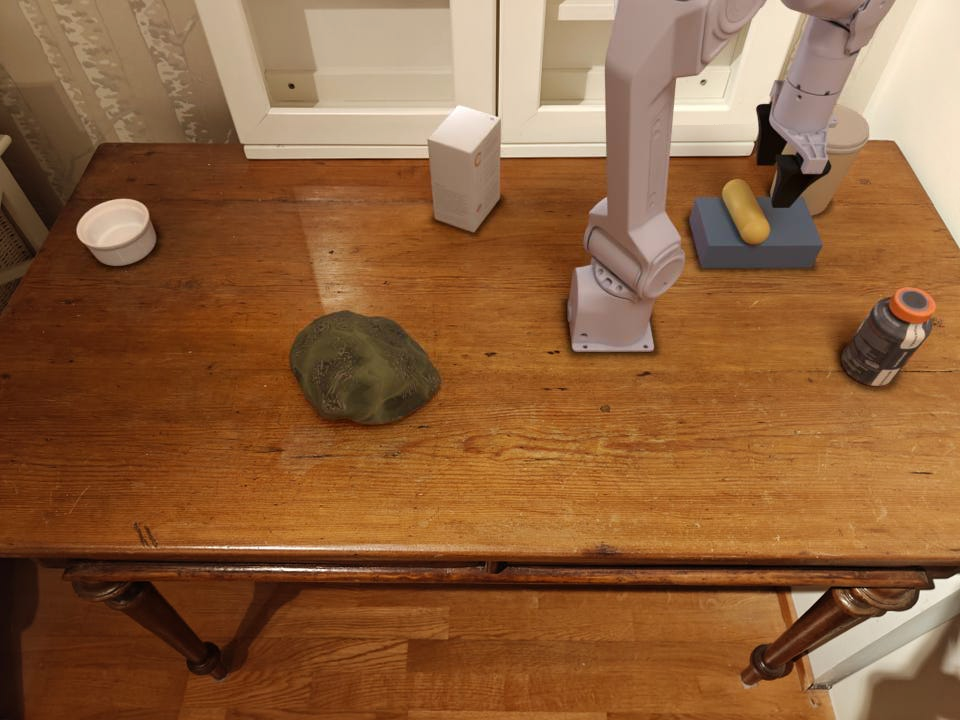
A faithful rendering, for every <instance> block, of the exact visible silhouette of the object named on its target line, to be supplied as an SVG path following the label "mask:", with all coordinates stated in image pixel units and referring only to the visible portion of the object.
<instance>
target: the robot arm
mask: <svg viewBox="0 0 960 720" xmlns="http://www.w3.org/2000/svg"><path fill="white" fill-rule="evenodd" d="M767 1H768V0H613V6H614V7H613V10H614V11H613V12H614V13H613V14H614V16H613V17H614V18H613V23H612V28H611V33H610V36H609V41H608V45H607V49H606V52H605V58H604V59H605V60H604V109H605V110H604V111H605V115H604V116H605V157H606V159H605V160H606V163H605V164H606V197H603V198H602V200H600V201H599V202H598V203H596V204H595V205H594V206H593V208H592V209H590V211H589V212H588V224H587V227H586V228H585V231H584V235H583V240H582V245H583V249H584V250H585V251H586V252H587V254H589V255H591V258H590V264H587V265H584V266H579V267H574V268H573V270H572V275H571V282H570V290H569V297H568V299H567V322H568V323H569V332H570V334H569V335H570V342H571V350H572V351H573V353H574V352H575V353H647V352H648V353H649V352H653V351H654V350H655V343H654V339H653V333H652V327H651V322H650V320H651V316H652V314H653V312H652V311H653V309H654V306H655V302H656V299H657V298H659V297H661V296H662V295H663V294H665V293H666V292H668V291H669V290H670V289H671V288H672V286H673V285H674V284H675V283H676V282H677V281H678V279H679V278H680V276H681V275H682V273H683V271H684V268H685V264H686V253H685V251H684V250H683V248H682V237H681V235H680V233H679V231H678V230H677V228H676V227H675V225H674V223H673V221H672V220H671V219H670V217H669V215H668V214H667V212H666V204H667V203H666V202H667V192H668V181H669V171H670V170H669V169H670V157H671V147H672V146H671V145H672V134H673V133H672V132H673V121H674V120H673V119H674V109H675V99H676V87H677V79H681V78H688V77H696V76H699V75H700V74H701V73H702V72H703V71H704V70H705V69H706V68H707V66H708V65H710V63H711V62H712V61H714V60H715V59H716V57H717V56H719V55H720V53H721V52H722V51H724V49H725V48H726V47H727V46H728V45H729V44H730V43H731V42H732V41H733V39H735V37H737V35H738V34H739V33H740V32H741V31H743V29H744V27H745V26H746V25H748V24H749V23H751V21H752V20H753V19H754V18H755V16H757V14H758V12H759V11H760V10H761V9H762V8H763V7H764V6H765V4H766V3H767ZM780 2H781V3H782V5H783V6H785V7H786V8H787V9H789V10H790V11H791V10H792V11H794V12H798V13H801V14H804V15H807V16H808V18H807V20H806V23H805V26H804V29H803V31H802V34H801V37H800V39H799V43H798V45H797V48H796V50H795V53H794V55H793V58H792V60H791V64H790V66H789V69H788V71H787V75H786V77H785V79H775V80H774V81H773V84H772V86H771V90H770V92H769V97H770V99H771V100H772V101H770V102H769V103H759V104H758V105H757V106H756V107H755V112H756V116H757V124H758V125H757V128H758V131H757V132H758V134H757V135H758V137H757V146H756V156H755V164H756V166H757V167H774V166H775V164H776V171H777V178H776V183H775V187H774V191H773V194H772V199H771V205H772V207H773V208H790V207H791V205H792V204H793V203H794V202H795V201H796V200H797V199H798V197H799V196H800V195H801V194H802V193H803V192H804V191H805V190H806V189H807V188H808V187H809V186H810V185H811V184H813V183H814V182H815V181H817V180H818V179H820V178H822V177H823V176H825V175H827V174H828V173H829V172H830V170H831V167H832V166H831V163H830V161H829V159H828V157H827V154H826V145H827V137H828V128H834V127H836V126H837V124H838V119H837V117H836V115H835V114H834V113H833V110H834V108H835V105H836V104H838V100H839V99H840V96H841V94H842V92H843V90H844V87H845V85H846V83H847V81H848V79H849V76H850V75H851V72H852V70H853V67H854V66H855V63H856V61H857V58H858V56H859V54H860V52H861V50H862V48H865V47H867V46H868V45H869V43H870V41H871V40H872V39H873V38H874V35H875V33H876V31H877V30H878V27H879V25H880V24H881V22H882V21H883V20H884V18H885V17H886V16H887V14H889V12H890V10H892V7H893V6H894V4H895V3H896V0H780ZM787 142H788V143H789V144H790V145H791V146H792V147H793V148H794V149H795V150H796V151H797V152H796V154H795V155H794V154H782V152H783V150H784V148H785V146H786V144H787Z"/></svg>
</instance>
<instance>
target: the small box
mask: <svg viewBox="0 0 960 720" xmlns="http://www.w3.org/2000/svg"><path fill="white" fill-rule="evenodd" d="M501 129H502V117H499V116H496V115H493V114H491V113H486V112H483V111H480V110H476V109H473V108H470V107H467V106H462V105H456V106H455V108H454V109H453V110H452V111H451V112H450V113H449V114H448V116H447V117H446V118H445V119H444V120H443V121H442V122H441V123H440V124H439V125H438V126H437V127H436V129H435V130H434V131H433V132H432V133H431V134H430V135H429V136H428V138H427V139H426V142H427V151H428V161H429V162H428V163H429V173H430V185H431V194H432V205H433V218H434V219H435V220H436V221H439V222H442V223H445V224H447V225H450V226H452V227H456V228H458V229H461V230H464V231H466V232H467V231H468V232H471V233H475V232H476V231H477V230H478V229H479V227H480V226H481V224H482V223H483V222H484V220H485V219H486V217H488V215H489V214H490V212H491V211H492V210H493V208H494V207H495V206H496V204H497V203H498V202H499V200H500V199H501V149H502V148H501V147H502V145H501V144H502V143H501V140H502V137H501V136H502V130H501Z"/></svg>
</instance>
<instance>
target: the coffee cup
mask: <svg viewBox="0 0 960 720" xmlns="http://www.w3.org/2000/svg"><path fill="white" fill-rule="evenodd" d="M833 113H834V114H835V115H836V117H837V119H838V124H837V126H836V127H834V128H828V137H827V145H826V154H827V157H828V159H829V161H830V163H831V166H832V167H831V170H830V172H829V173H828V174H827V175H825V176H823V177H822V178H820V179H818V180H817V181H815V182H814V183H813V184H811V185H810V186H809V187H808V188H807V189H806V190H805V191H804V192H803V193H802V194H801V195H800V196H799V197H804V200H805V202H806V205H807V207H808V210H809V212H810V214H811V217H812V216H815V215H819V214H821V213H822V212H823V211H825V209H826V208H827V207H828V205H829V204H830V202H831V201H832V199H833V198H834V196H835V194H836V193H837V191H838V190H839V188H840V186H841V185H842V183H843V181H844V180H845V178H846V176H847V174H848V173H849V171H850V170H851V168H852V166H853V165H854V163H855V161H856V160H857V159H858V156H859V154H860V153H861V151H862V150H863V148H864V147H865V146H866V145H867V143H868V142H869V139H870V125H869V123H868V121H867V119H866V118H865V117H864V116H863V115H862V114H860V113H859V112H857V110H855V109H853V108H850V107H848V106H846V105H842V104H839V103H836V105H835V108H834V110H833ZM796 152H797V151H796V150H795V149H794V148H793V147H792V146H791V145H790V144H789V143H788V142H787V144H786V146H785V148H784V150H783V152H782V154H794V155H795V154H796ZM776 178H777V170H776V171H775V175H774V177H773V181H772V184H771V188H770V192H769V193H770V197H772V194H773V191H774V187H775V183H776Z"/></svg>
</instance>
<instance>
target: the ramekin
mask: <svg viewBox="0 0 960 720" xmlns="http://www.w3.org/2000/svg"><path fill="white" fill-rule="evenodd" d="M154 228H155V227H154V225H153V222H152V221H151V218H150V212H149V209H148V208H147V206H146V205H145V204H143V203H142V202H141V201H138V200H135V199H132V198H115V199H112V200H107V201H104V202H102V203H99V204H97V205H95V206H94V207H92V208H90V209H89V210H88V211H86V212H85V213H84V214H83V215H82V217H81V218H80V219H79V221H78V222H77V225H76V230H75V231H76V236H77V238H78V239H79V241H80V242H81V243H82V244H84V246H86V248H87V249H88V250H89V251H90V252H91V253H92V255H93V256H94V257H95V258H96V260H98V261H99V262H100V263H101V264H104V265H106V266H111V267H112V266H113V267H122V266H128V265H132V264H135V263H137V262H140V261H141V260H143V259H144V258H146V257H147V256H148V255H149V254H150V253H151V252H152V251H153V249H154V248H155V246H156V243H157V234H156V231H155V229H154Z"/></svg>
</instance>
